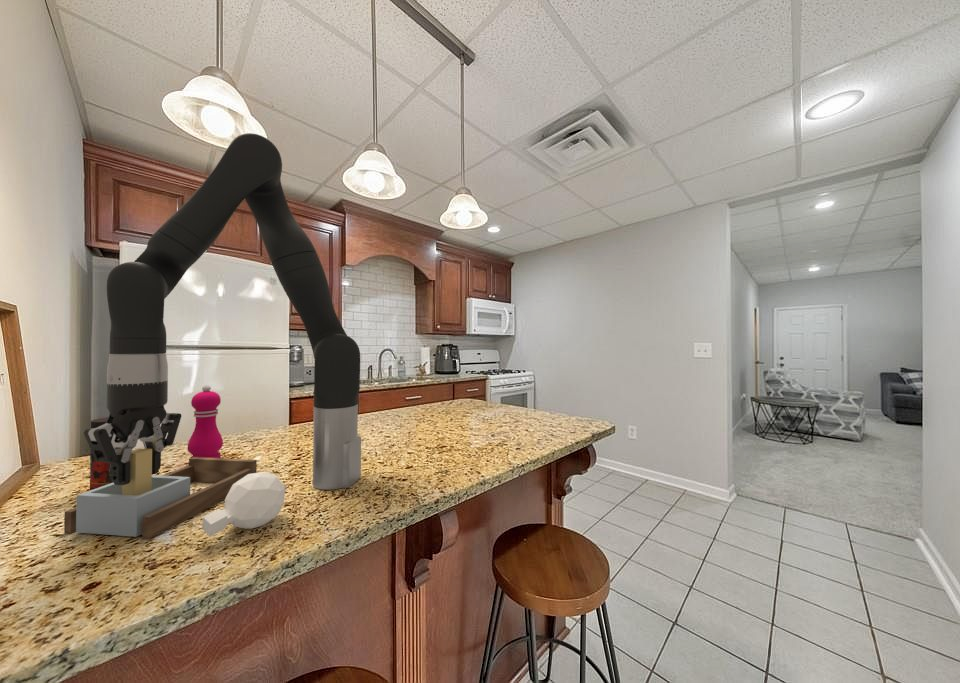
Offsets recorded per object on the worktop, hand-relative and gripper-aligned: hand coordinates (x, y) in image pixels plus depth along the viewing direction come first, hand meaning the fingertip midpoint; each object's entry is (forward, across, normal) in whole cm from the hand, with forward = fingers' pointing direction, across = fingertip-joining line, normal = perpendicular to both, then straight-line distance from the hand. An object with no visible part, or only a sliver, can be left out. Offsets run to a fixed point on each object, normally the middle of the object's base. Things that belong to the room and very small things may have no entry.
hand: (137, 478), depth 60 cm
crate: (+7, 0, 0) cm, 7 cm away
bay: (+8, +6, 0) cm, 10 cm away
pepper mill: (+8, +28, +15) cm, 33 cm away
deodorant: (+8, +10, +19) cm, 23 cm away
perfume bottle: (+8, 0, -20) cm, 21 cm away
